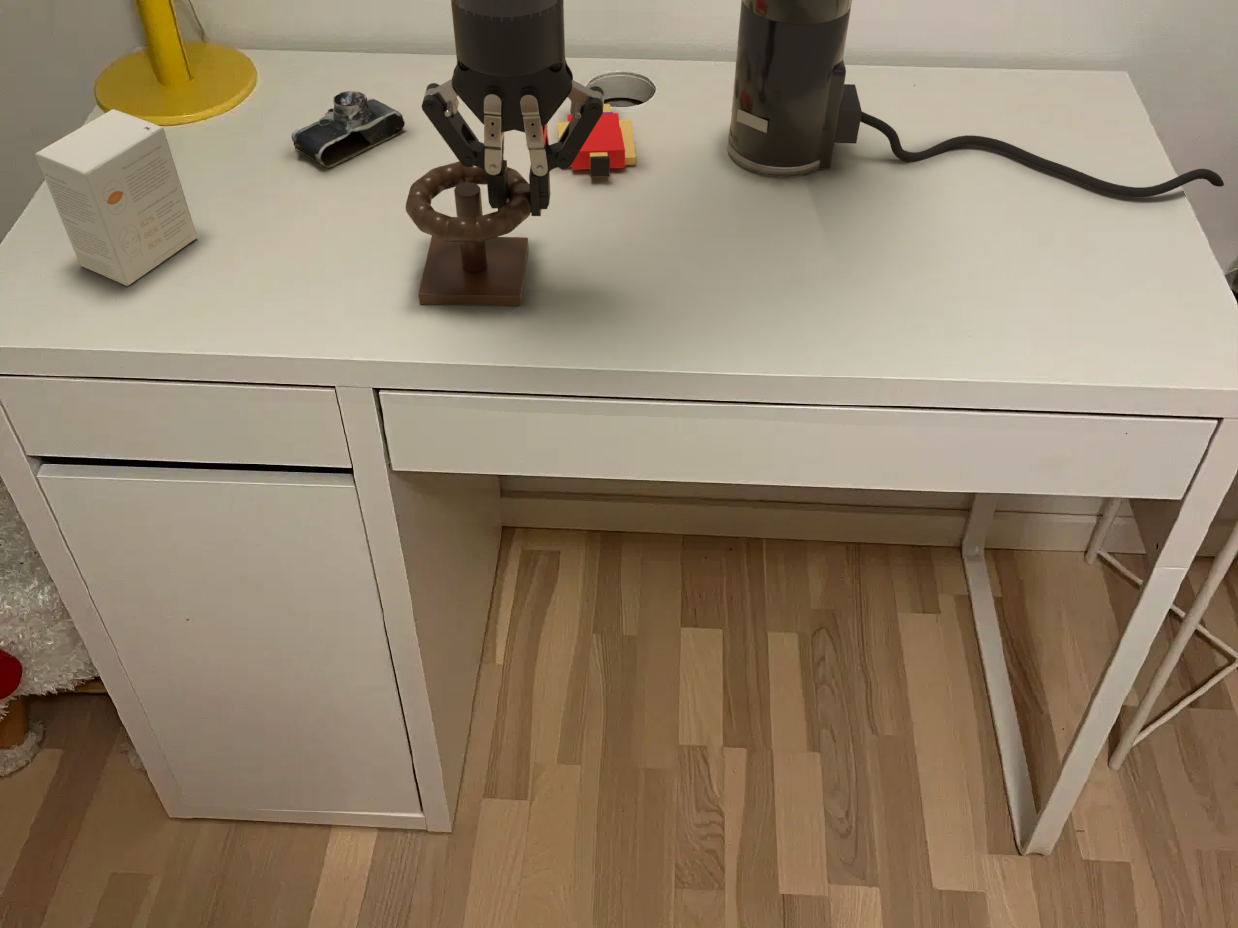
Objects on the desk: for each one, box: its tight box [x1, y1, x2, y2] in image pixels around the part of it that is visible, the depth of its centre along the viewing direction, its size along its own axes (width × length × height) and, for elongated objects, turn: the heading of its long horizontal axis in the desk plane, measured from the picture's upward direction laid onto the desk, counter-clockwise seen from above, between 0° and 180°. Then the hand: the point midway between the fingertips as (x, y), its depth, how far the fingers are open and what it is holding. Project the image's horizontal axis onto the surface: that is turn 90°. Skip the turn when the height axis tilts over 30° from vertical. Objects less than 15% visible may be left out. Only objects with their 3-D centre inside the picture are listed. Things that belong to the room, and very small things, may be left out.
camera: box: [290, 90, 406, 169], centre depth 106 cm, size 5×10×4 cm, turn 137°
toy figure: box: [557, 103, 637, 178], centre depth 106 cm, size 2×7×12 cm
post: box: [417, 183, 529, 307], centre depth 90 cm, size 8×8×8 cm
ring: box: [405, 160, 531, 242], centre depth 88 cm, size 10×10×2 cm
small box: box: [35, 108, 198, 287], centre depth 91 cm, size 8×6×10 cm
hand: (520, 209), depth 89 cm, fingers closed on ring, 2 cm apart
